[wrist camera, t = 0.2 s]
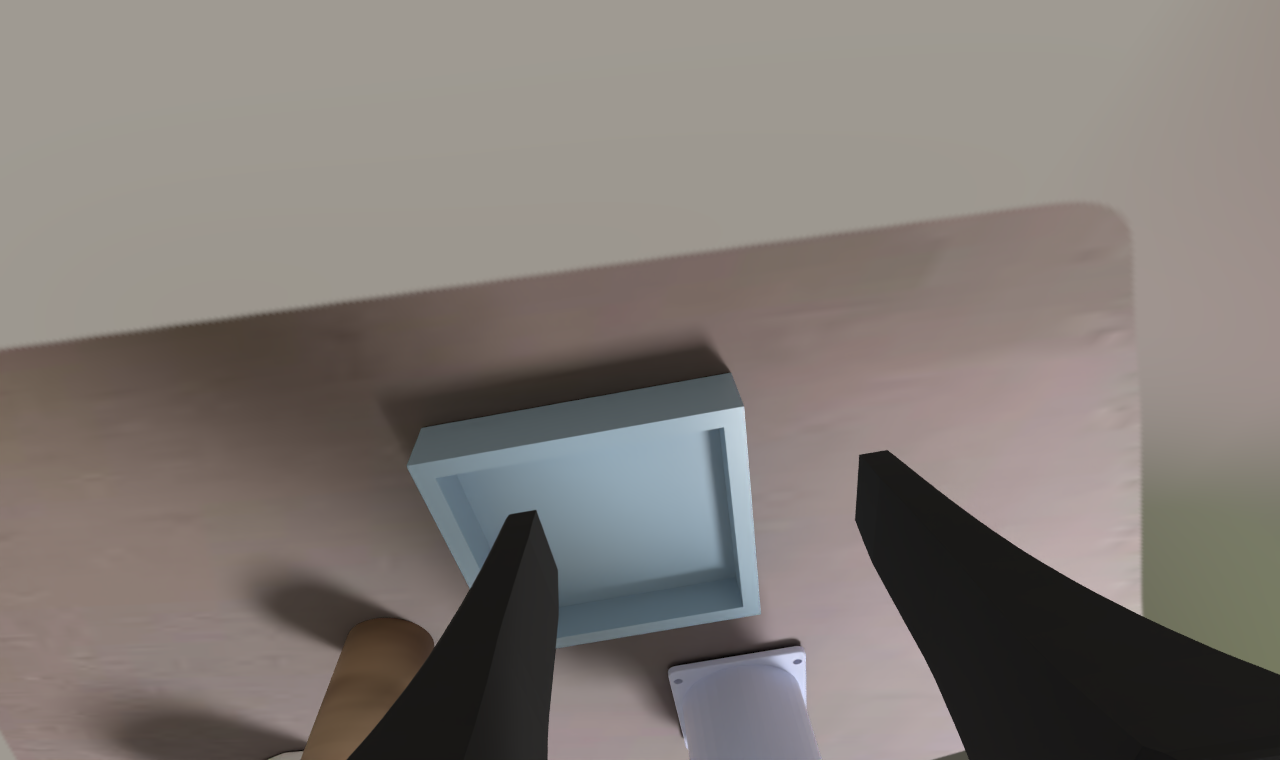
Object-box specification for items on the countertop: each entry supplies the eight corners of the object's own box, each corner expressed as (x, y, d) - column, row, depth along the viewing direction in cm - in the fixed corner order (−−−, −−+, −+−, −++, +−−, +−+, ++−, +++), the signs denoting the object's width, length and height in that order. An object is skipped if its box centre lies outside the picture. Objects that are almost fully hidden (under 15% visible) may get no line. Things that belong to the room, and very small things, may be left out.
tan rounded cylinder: (445, 659, 32) (419, 781, 27) (368, 672, 32) (327, 796, 27) (415, 611, 30) (380, 735, 25) (332, 625, 30) (280, 752, 25)
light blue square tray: (749, 575, 30) (760, 614, 28) (510, 615, 30) (505, 657, 28) (731, 372, 23) (744, 406, 21) (421, 428, 23) (406, 466, 21)
